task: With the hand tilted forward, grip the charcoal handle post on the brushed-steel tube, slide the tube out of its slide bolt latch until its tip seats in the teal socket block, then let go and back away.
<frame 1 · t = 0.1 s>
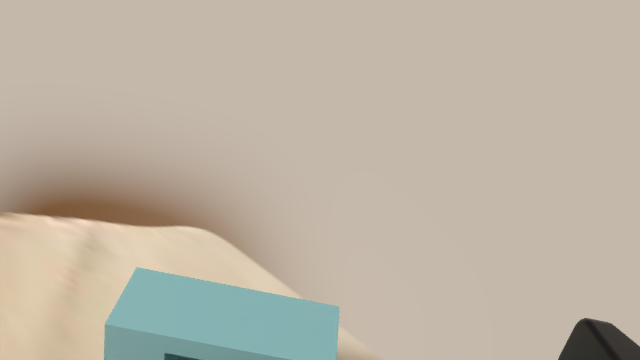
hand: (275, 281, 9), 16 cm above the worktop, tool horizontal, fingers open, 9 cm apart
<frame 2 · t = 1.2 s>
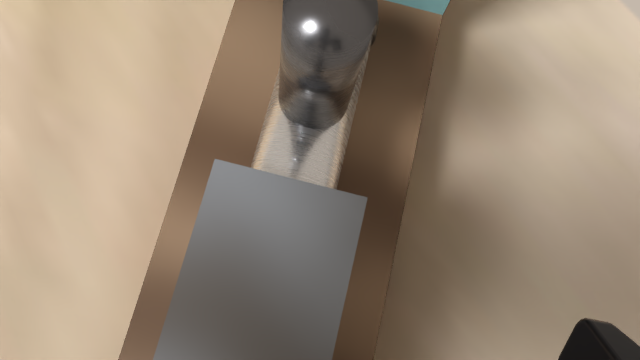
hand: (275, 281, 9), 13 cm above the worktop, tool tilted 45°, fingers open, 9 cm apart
slip tube: (293, 171, 17), point 6 cm above the worktop, slide at 0.0 cm
slide bolt latch: (289, 204, 23), on the worktop
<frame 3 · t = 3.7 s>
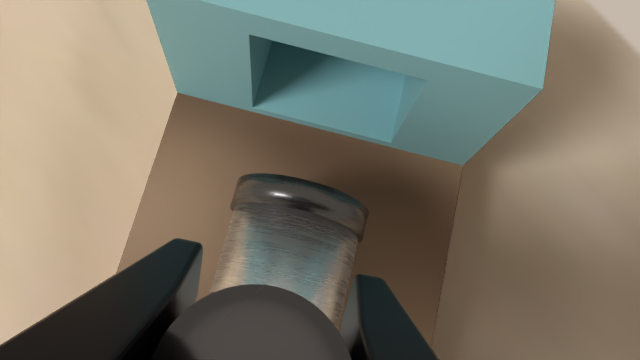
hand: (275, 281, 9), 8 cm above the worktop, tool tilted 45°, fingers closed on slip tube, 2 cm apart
socket block: (327, 103, 18), resting on slide bolt latch
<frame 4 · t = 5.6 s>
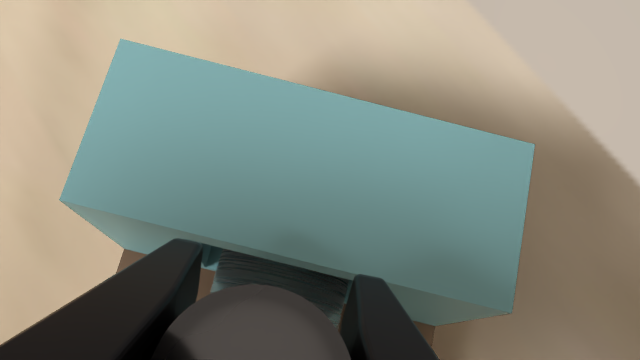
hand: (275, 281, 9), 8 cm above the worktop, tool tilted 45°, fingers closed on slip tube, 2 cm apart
socket block: (292, 239, 17), resting on slide bolt latch
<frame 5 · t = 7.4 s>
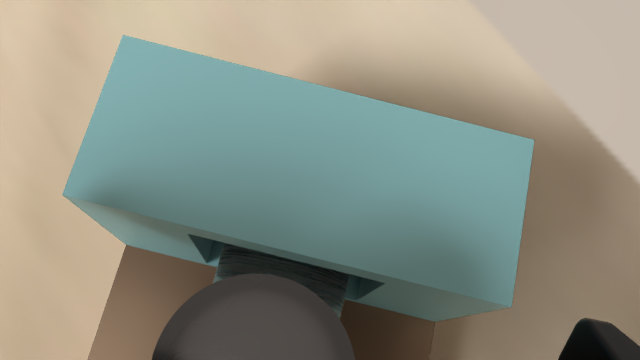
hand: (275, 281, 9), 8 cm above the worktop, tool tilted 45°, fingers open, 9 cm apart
socket block: (293, 236, 17), resting on slide bolt latch
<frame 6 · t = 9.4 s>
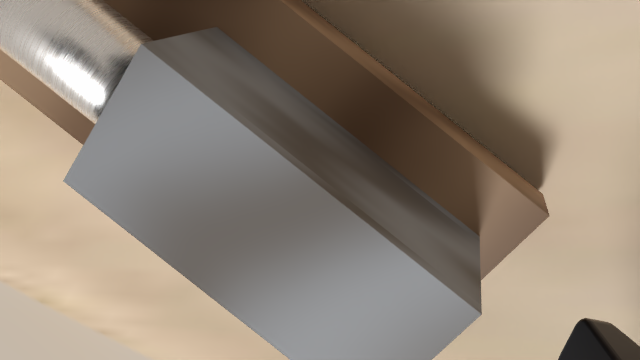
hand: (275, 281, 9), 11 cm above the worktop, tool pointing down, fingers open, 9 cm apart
slide bolt latch: (186, 60, 20), on the worktop
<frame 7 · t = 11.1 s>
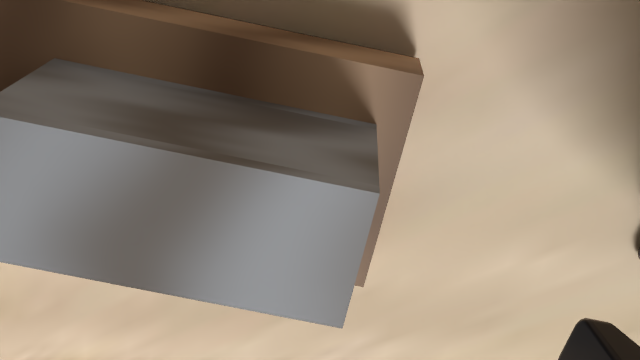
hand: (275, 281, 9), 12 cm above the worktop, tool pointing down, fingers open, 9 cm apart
slide bolt latch: (56, 99, 21), on the worktop
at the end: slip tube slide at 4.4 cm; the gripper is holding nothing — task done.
